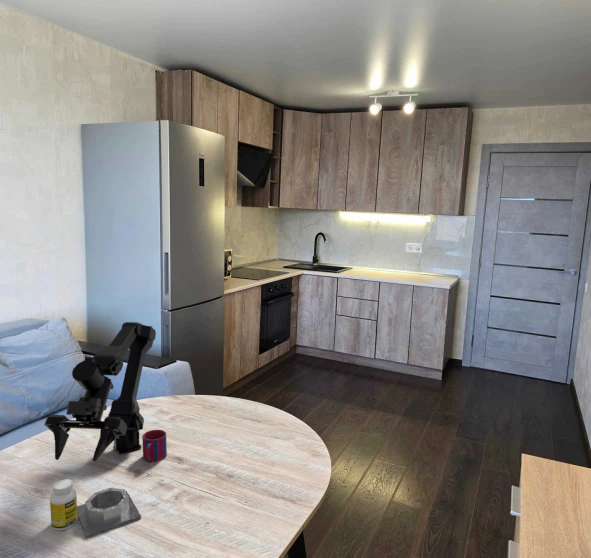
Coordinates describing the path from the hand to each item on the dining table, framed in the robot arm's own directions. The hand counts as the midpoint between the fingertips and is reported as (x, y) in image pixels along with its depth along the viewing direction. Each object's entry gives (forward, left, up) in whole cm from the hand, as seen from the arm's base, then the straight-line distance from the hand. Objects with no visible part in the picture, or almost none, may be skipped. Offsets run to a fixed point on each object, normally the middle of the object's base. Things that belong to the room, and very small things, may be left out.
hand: (75, 460), depth 111 cm
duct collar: (-5, +7, -12) cm, 15 cm away
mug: (-22, -12, -13) cm, 29 cm away
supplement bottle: (+4, +5, -13) cm, 14 cm away
